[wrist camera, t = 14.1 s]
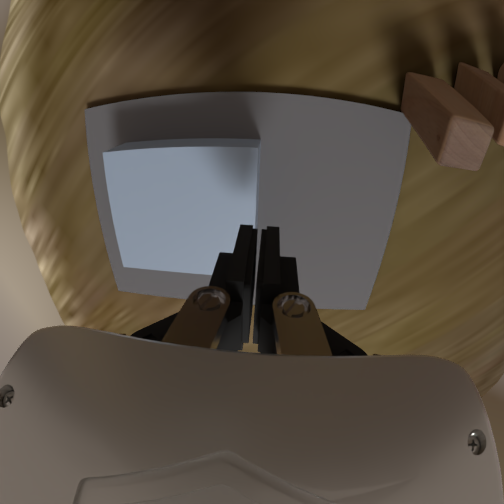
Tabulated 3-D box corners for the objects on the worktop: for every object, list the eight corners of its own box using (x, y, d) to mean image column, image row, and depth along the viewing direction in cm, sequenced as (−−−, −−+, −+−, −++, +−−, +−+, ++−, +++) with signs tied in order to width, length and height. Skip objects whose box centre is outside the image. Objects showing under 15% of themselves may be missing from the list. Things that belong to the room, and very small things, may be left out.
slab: (260, 139, 16) (126, 142, 16) (258, 147, 13) (102, 152, 13) (255, 252, 20) (140, 245, 20) (252, 278, 17) (123, 266, 18)
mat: (88, 108, 15) (84, 109, 15) (408, 114, 14) (412, 115, 14) (120, 287, 24) (118, 290, 23) (363, 305, 22) (364, 309, 22)
